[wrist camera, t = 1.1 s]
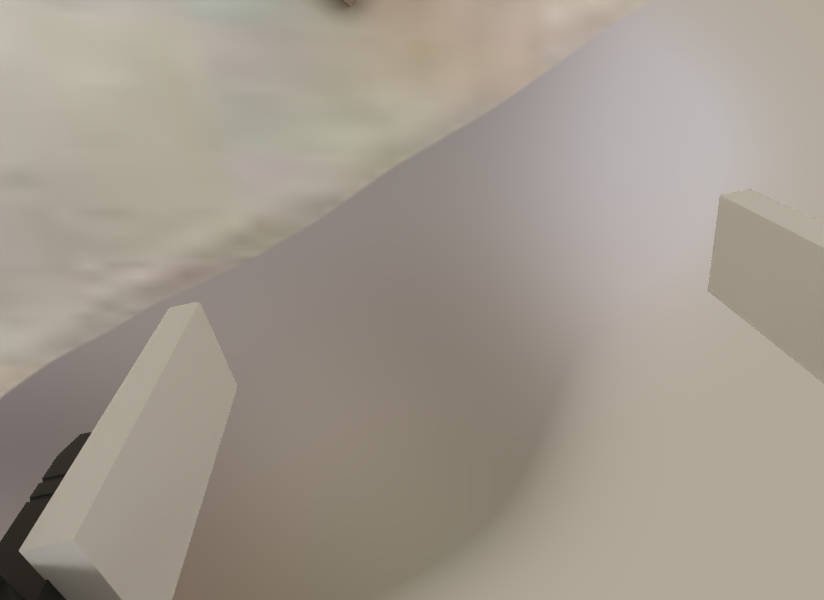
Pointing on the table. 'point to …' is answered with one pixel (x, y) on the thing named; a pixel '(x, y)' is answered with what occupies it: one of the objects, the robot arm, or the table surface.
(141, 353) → the robot arm
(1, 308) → the table surface
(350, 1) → the mount
